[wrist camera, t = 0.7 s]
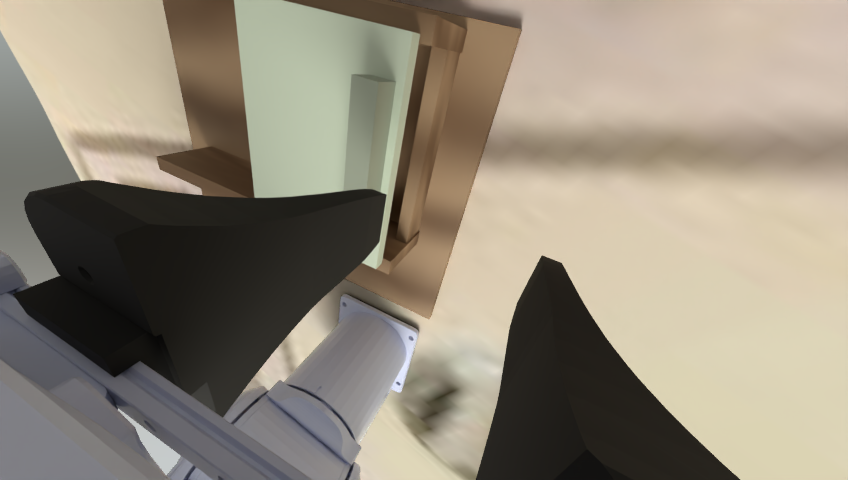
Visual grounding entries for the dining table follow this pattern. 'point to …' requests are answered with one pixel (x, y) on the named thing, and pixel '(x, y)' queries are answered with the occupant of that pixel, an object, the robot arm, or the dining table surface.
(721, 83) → the dining table surface
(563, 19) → the dining table surface
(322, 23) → the lid
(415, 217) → the brown wooden tray
